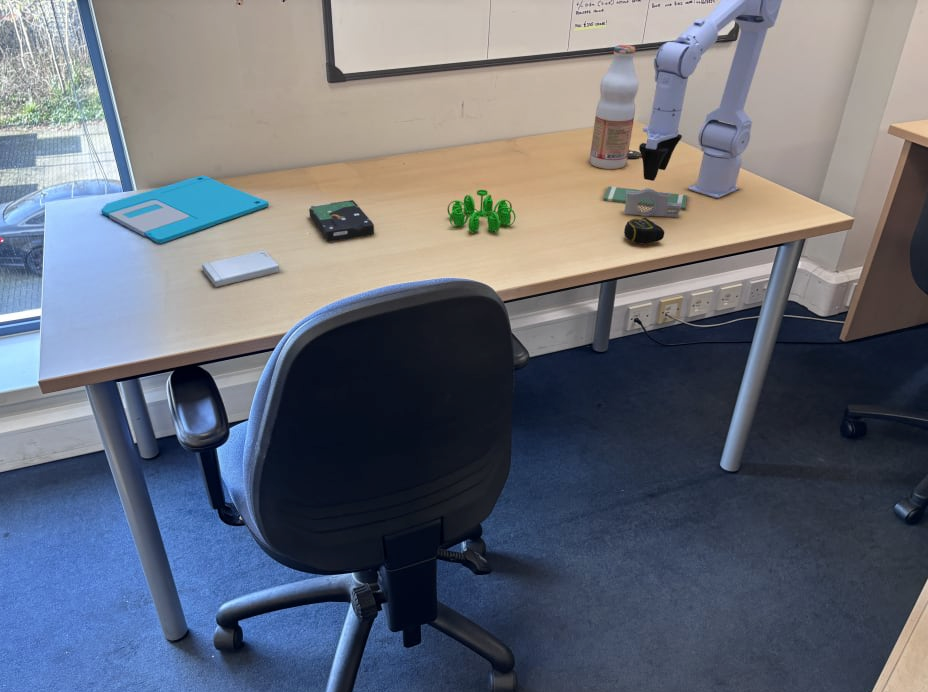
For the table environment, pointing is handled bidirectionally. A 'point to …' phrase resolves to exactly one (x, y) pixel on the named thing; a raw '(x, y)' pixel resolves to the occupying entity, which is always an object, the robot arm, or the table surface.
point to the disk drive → (341, 221)
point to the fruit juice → (615, 111)
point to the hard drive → (240, 268)
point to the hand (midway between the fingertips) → (654, 174)
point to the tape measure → (643, 231)
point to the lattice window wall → (657, 210)
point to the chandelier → (481, 213)
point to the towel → (620, 196)
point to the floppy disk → (182, 208)
